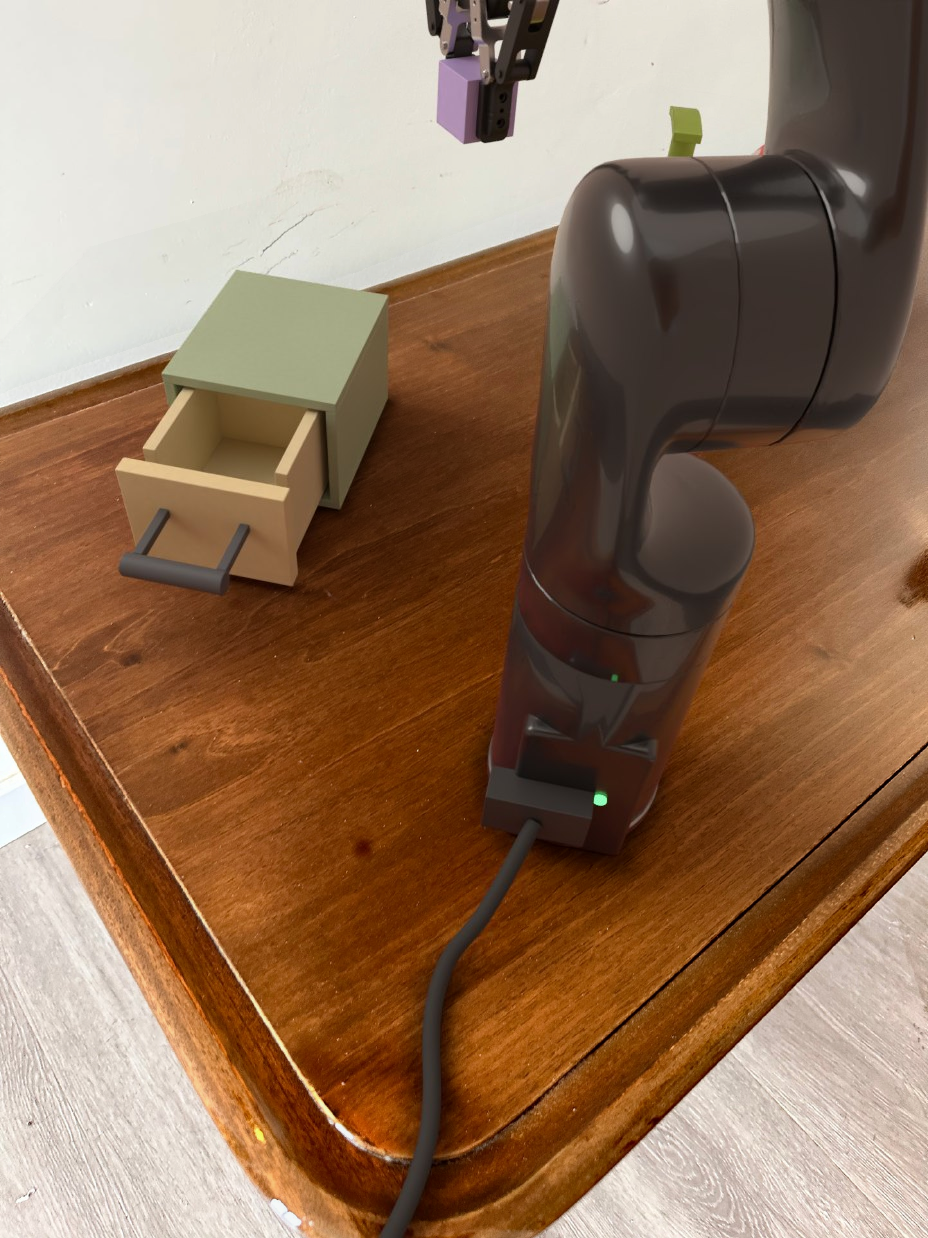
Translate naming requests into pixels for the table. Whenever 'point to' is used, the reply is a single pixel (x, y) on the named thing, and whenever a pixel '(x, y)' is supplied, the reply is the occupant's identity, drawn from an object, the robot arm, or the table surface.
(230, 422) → the drawer
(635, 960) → the table surface
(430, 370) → the table surface
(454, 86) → the lilac toy cube
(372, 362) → the cabinet
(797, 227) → the robot arm
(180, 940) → the table surface
